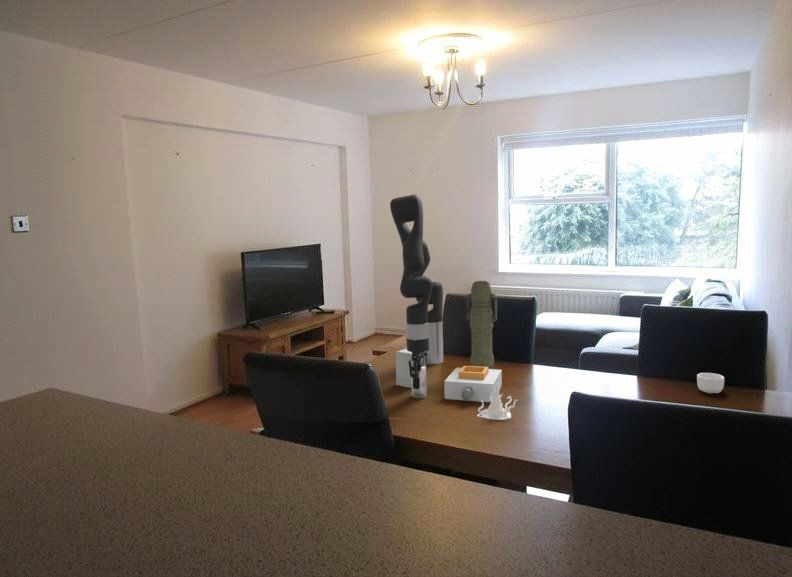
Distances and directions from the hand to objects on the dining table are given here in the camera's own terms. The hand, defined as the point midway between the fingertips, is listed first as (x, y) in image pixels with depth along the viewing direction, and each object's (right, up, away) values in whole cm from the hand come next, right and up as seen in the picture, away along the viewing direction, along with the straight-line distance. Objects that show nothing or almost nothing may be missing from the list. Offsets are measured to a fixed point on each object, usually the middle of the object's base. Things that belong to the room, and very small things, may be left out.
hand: (418, 386), depth 184 cm
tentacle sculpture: (+23, -5, -20) cm, 31 cm away
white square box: (+18, -3, 0) cm, 18 cm away
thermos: (+26, 0, +28) cm, 38 cm away
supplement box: (-2, -2, +14) cm, 14 cm away
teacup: (+95, -1, -4) cm, 95 cm away
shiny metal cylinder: (0, -3, 0) cm, 3 cm away
